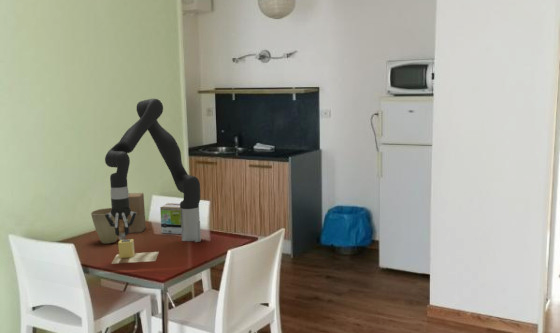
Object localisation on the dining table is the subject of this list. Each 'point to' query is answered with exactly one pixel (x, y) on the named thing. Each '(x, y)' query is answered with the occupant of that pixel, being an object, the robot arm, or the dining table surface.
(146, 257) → the panel
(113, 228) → the plant pot
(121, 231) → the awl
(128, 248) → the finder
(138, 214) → the wooden block
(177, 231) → the tea box
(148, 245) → the dining table surface
